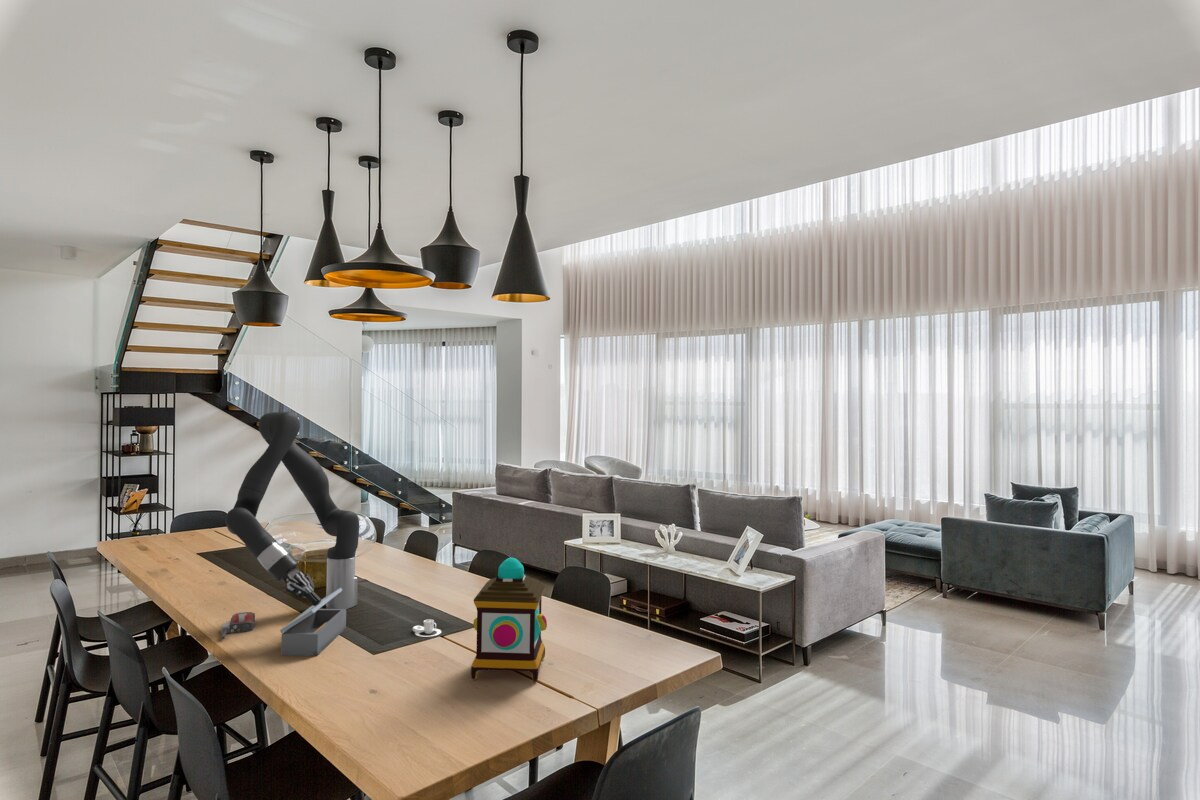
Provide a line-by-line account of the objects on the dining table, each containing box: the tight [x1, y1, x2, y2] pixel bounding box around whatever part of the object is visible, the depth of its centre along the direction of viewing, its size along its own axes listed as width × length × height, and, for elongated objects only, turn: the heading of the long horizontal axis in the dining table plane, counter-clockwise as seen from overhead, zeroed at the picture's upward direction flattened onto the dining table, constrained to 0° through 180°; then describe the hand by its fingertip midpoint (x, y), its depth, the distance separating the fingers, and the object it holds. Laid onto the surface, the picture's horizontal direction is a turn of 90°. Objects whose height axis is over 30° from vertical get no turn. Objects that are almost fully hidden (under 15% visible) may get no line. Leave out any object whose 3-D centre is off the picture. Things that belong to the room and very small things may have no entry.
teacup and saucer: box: [412, 618, 442, 638], centre depth 216 cm, size 9×8×4 cm
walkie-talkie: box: [220, 611, 256, 640], centre depth 216 cm, size 9×4×20 cm
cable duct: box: [280, 608, 347, 657], centre depth 207 cm, size 10×24×6 cm, turn 2°
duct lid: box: [279, 588, 342, 634], centre depth 207 cm, size 10×24×1 cm
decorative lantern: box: [470, 557, 548, 683], centre depth 188 cm, size 20×20×30 cm
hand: (318, 603), depth 207 cm, fingers closed
